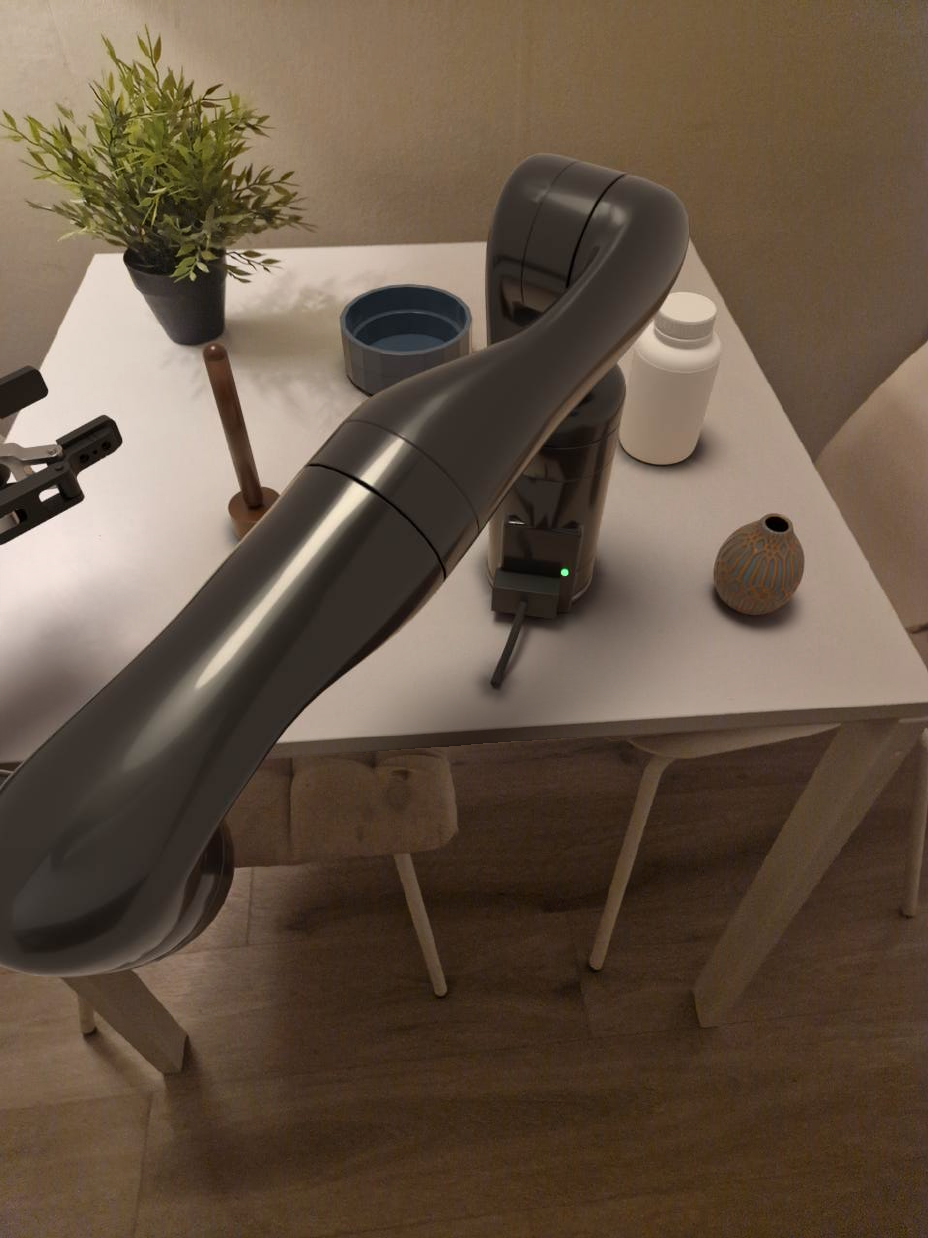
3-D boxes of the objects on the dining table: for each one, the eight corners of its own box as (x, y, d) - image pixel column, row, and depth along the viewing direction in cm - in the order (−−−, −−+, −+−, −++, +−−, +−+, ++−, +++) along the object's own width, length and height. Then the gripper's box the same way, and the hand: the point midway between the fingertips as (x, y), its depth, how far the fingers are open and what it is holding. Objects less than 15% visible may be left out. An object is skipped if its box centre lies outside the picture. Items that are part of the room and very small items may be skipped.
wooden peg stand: (278, 549, 72) (231, 364, 57) (227, 542, 72) (168, 358, 58) (294, 513, 75) (253, 329, 60) (245, 507, 75) (193, 323, 61)
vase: (728, 635, 66) (759, 562, 59) (691, 576, 70) (716, 501, 63) (802, 618, 67) (841, 545, 60) (762, 561, 71) (794, 486, 64)
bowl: (459, 410, 85) (459, 360, 81) (331, 396, 87) (324, 347, 82) (479, 338, 94) (480, 289, 89) (363, 326, 95) (358, 278, 91)
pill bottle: (604, 426, 83) (628, 290, 72) (673, 412, 85) (707, 277, 73) (637, 473, 79) (668, 336, 67) (709, 458, 80) (752, 322, 69)
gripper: (-187, 526, 51) (41, 408, 59) (-76, 639, 45) (160, 491, 53) (-271, 430, 45) (-5, 313, 53) (-155, 546, 39) (123, 395, 47)
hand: (77, 402), depth 53 cm, fingers open, 8 cm apart
